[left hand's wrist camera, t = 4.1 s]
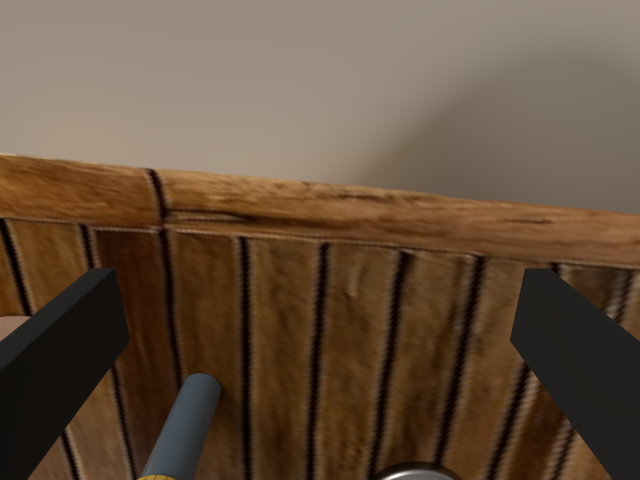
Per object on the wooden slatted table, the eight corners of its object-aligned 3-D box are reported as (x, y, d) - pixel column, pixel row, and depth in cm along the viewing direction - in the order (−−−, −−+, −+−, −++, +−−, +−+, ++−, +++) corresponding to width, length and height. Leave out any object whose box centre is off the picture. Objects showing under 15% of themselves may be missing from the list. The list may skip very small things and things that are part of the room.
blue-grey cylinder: (208, 367, 48) (159, 490, 34) (228, 395, 50) (190, 524, 35) (175, 381, 49) (113, 507, 35) (196, 408, 51) (146, 539, 36)
